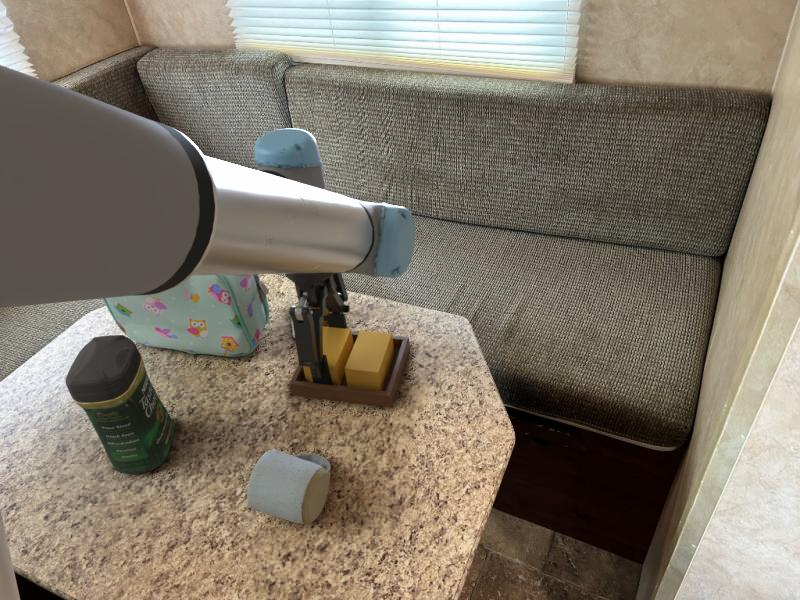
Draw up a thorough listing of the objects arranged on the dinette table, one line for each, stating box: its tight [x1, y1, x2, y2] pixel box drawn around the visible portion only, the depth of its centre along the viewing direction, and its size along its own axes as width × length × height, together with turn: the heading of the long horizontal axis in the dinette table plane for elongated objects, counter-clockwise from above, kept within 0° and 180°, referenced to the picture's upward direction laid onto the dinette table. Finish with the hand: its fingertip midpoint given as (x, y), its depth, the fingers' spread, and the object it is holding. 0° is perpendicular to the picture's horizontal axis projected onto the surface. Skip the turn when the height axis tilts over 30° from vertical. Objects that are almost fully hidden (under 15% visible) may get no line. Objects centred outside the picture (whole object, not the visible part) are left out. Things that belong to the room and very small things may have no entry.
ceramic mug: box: [246, 448, 331, 525], centre depth 76 cm, size 11×8×8 cm
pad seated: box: [345, 329, 395, 391], centre depth 92 cm, size 8×5×4 cm, turn 167°
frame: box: [288, 330, 411, 409], centre depth 94 cm, size 13×16×3 cm
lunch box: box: [102, 274, 270, 358], centre depth 97 cm, size 27×10×21 cm, turn 76°
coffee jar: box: [65, 334, 176, 475], centre depth 80 cm, size 10×8×19 cm
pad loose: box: [303, 326, 354, 386], centre depth 94 cm, size 8×5×4 cm, turn 167°
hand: (332, 364), depth 95 cm, fingers closed on pad loose, 8 cm apart
